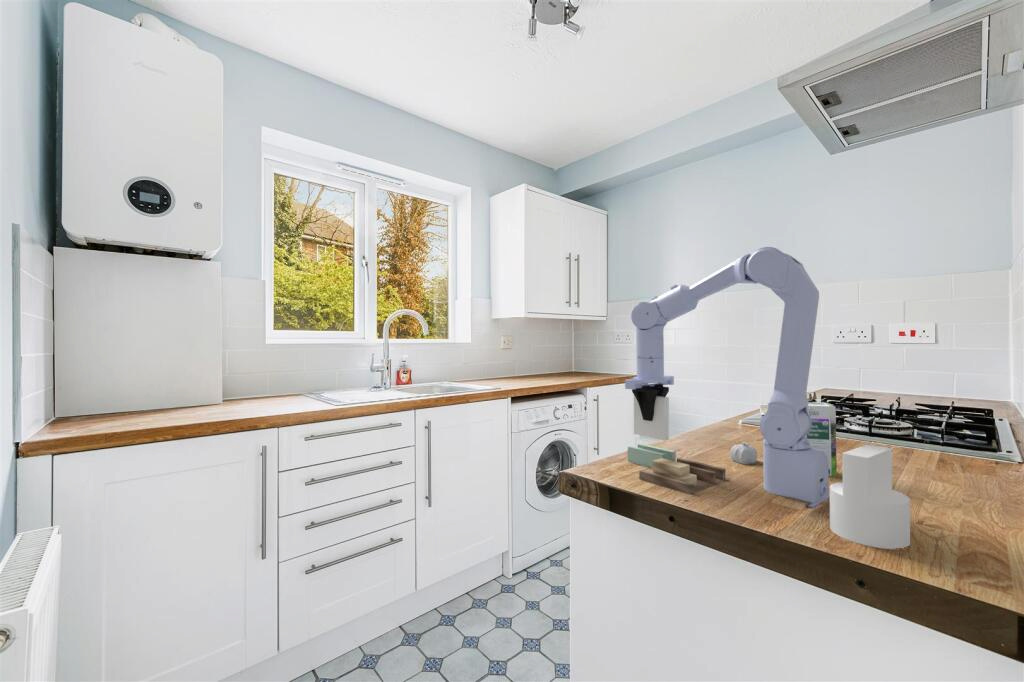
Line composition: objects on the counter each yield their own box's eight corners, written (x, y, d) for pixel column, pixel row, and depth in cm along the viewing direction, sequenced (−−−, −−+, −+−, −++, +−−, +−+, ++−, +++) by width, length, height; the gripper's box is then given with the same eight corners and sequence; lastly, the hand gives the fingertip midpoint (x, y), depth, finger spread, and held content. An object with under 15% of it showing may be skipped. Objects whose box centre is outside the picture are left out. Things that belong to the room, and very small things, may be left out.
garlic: (760, 469, 95) (760, 445, 95) (732, 467, 97) (732, 443, 97) (754, 462, 101) (754, 439, 101) (728, 460, 103) (728, 437, 102)
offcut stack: (696, 484, 83) (696, 465, 83) (685, 488, 81) (685, 469, 81) (663, 475, 89) (663, 457, 89) (652, 479, 87) (652, 460, 87)
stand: (676, 469, 96) (675, 451, 96) (661, 474, 93) (661, 454, 93) (641, 460, 103) (641, 443, 103) (627, 464, 100) (627, 446, 100)
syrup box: (804, 476, 90) (804, 404, 90) (793, 468, 96) (793, 400, 96) (837, 478, 89) (836, 405, 88) (824, 469, 94) (823, 401, 94)
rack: (731, 482, 87) (731, 468, 87) (690, 498, 79) (690, 482, 79) (680, 469, 96) (680, 456, 96) (639, 482, 88) (639, 468, 88)
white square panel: (668, 439, 95) (668, 397, 95) (664, 440, 94) (664, 398, 94) (638, 432, 101) (638, 393, 101) (633, 433, 101) (633, 394, 100)
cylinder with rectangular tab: (845, 516, 70) (844, 440, 70) (920, 538, 62) (919, 452, 62) (818, 530, 65) (817, 448, 65) (896, 555, 58) (895, 463, 58)
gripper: (655, 356, 105) (655, 413, 105) (613, 358, 97) (614, 421, 97) (681, 357, 99) (682, 417, 100) (640, 359, 91) (641, 426, 91)
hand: (650, 419), depth 98 cm, fingers closed on white square panel
